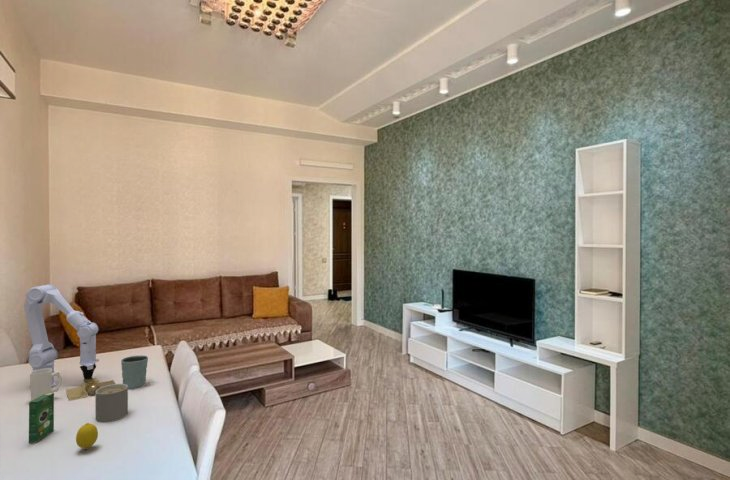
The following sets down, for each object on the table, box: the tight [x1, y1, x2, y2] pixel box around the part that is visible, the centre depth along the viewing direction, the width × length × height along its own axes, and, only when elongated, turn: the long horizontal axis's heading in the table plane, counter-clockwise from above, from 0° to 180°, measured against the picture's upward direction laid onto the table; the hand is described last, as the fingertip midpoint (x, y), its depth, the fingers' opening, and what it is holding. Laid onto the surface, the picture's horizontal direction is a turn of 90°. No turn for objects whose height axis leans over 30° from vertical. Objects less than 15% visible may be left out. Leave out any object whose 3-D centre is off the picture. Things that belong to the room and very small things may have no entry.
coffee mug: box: [94, 383, 129, 423], centre depth 145 cm, size 13×10×10 cm
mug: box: [29, 368, 63, 401], centre depth 157 cm, size 10×7×12 cm, turn 124°
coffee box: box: [28, 392, 55, 444], centre depth 129 cm, size 8×3×13 cm, turn 6°
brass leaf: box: [65, 377, 99, 401], centre depth 165 cm, size 12×11×4 cm
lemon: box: [75, 422, 99, 450], centre depth 121 cm, size 6×6×8 cm
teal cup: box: [120, 355, 149, 391], centre depth 173 cm, size 10×10×12 cm
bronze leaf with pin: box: [87, 379, 116, 396], centre depth 169 cm, size 12×10×4 cm
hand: (88, 381), depth 175 cm, fingers closed
